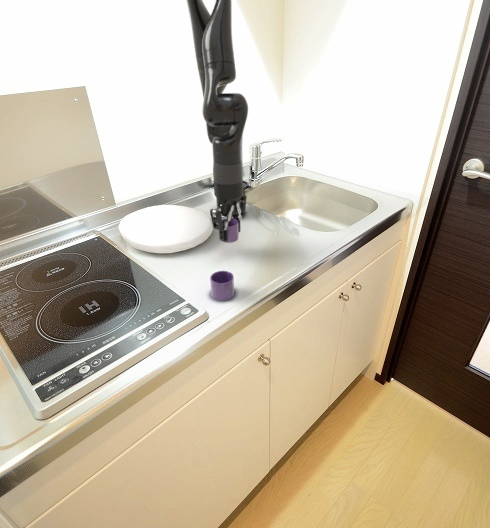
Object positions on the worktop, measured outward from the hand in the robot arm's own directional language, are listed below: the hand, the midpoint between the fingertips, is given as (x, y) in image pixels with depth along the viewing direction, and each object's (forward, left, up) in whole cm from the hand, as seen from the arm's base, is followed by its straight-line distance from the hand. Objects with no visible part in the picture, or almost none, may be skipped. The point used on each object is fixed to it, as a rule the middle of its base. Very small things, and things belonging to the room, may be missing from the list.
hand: (230, 236), depth 103 cm
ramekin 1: (0, -1, -1) cm, 1 cm away
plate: (+4, -23, -6) cm, 24 cm away
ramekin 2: (+16, +11, -6) cm, 20 cm away
